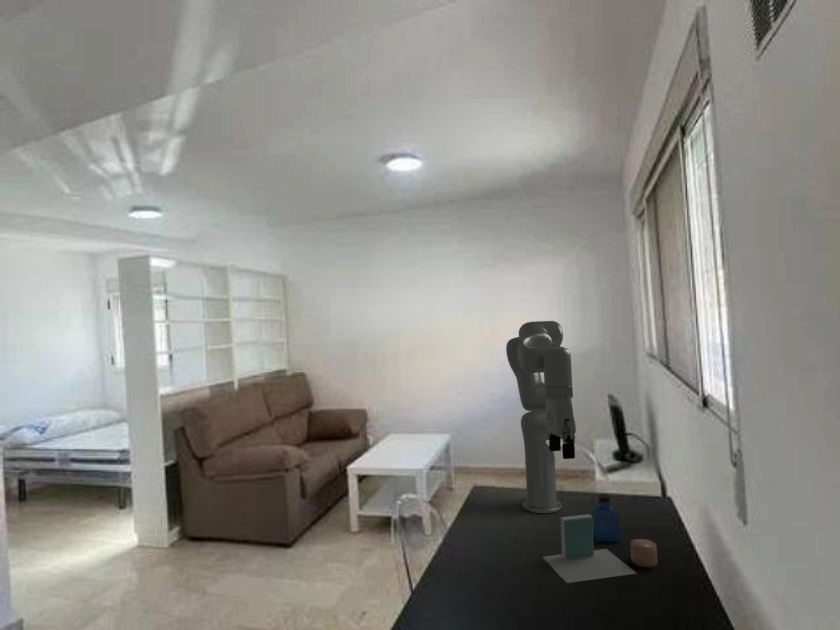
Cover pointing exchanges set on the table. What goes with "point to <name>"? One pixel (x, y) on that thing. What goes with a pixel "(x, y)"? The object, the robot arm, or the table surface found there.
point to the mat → (589, 566)
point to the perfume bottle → (605, 520)
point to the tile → (577, 536)
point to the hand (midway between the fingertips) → (561, 454)
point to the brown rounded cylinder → (643, 553)
